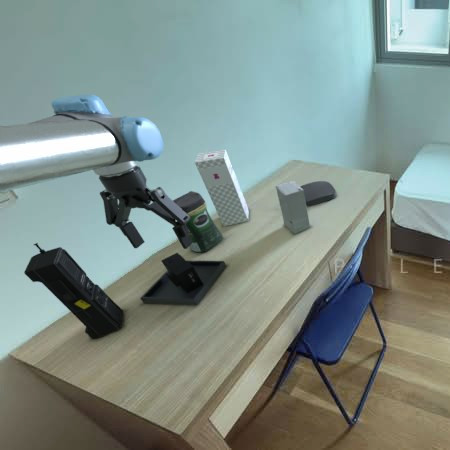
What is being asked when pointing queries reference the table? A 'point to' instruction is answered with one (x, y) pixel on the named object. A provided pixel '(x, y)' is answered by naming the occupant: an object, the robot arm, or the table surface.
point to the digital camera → (181, 272)
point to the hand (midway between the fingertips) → (164, 245)
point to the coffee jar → (199, 222)
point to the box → (222, 186)
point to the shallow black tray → (171, 294)
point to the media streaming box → (318, 192)
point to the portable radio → (75, 291)
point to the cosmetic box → (293, 206)
